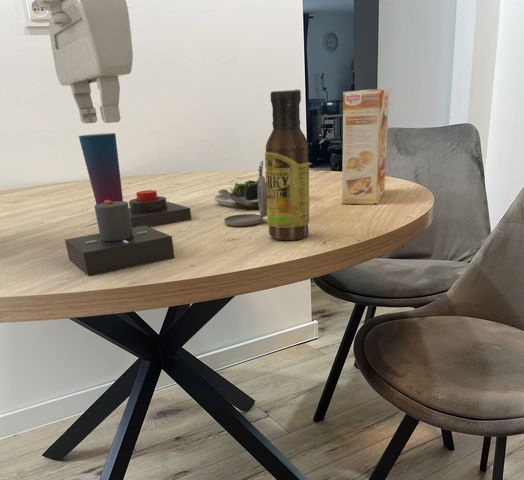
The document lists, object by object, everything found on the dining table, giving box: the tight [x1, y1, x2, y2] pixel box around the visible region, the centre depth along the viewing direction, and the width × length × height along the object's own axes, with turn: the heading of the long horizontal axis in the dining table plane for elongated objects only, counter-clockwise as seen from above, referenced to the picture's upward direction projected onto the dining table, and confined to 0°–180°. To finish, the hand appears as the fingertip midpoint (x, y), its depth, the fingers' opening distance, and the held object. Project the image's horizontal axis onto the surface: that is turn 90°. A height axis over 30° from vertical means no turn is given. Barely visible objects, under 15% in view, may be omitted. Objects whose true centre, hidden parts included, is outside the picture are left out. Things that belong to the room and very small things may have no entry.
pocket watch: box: [223, 160, 267, 227], centre depth 86 cm, size 8×8×10 cm
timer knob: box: [93, 200, 133, 241], centre depth 69 cm, size 4×4×5 cm
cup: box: [78, 132, 124, 205], centre depth 101 cm, size 7×7×15 cm
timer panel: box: [64, 225, 175, 277], centre depth 71 cm, size 12×10×3 cm
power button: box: [136, 189, 158, 202], centre depth 93 cm, size 4×4×2 cm
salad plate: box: [214, 179, 259, 211], centre depth 106 cm, size 19×18×5 cm
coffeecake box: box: [341, 88, 390, 205], centre depth 99 cm, size 15×7×20 cm, turn 162°
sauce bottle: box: [264, 88, 310, 241], centre depth 73 cm, size 6×6×20 cm
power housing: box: [128, 195, 192, 228], centre depth 94 cm, size 12×10×4 cm
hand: (100, 123), depth 63 cm, fingers open, 8 cm apart
